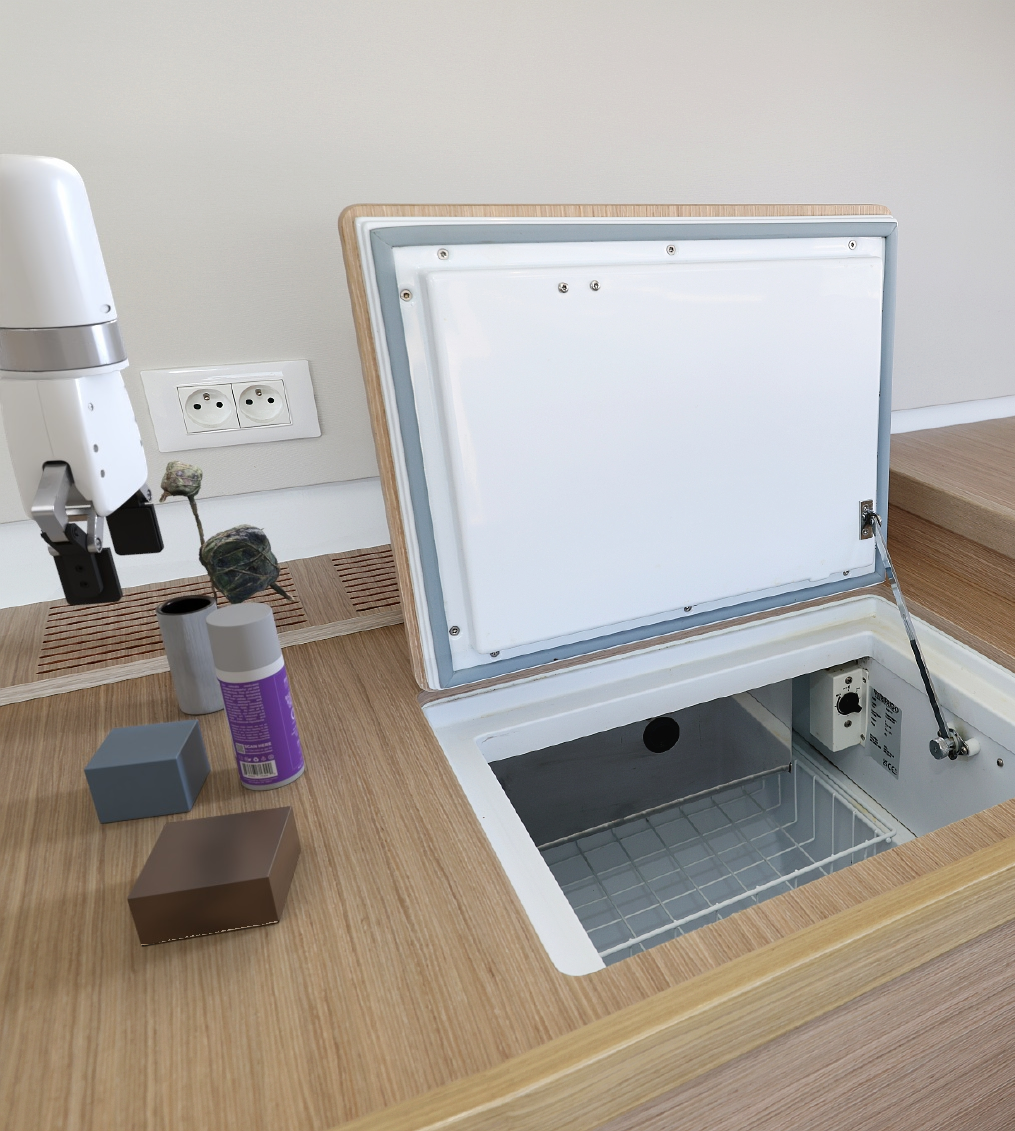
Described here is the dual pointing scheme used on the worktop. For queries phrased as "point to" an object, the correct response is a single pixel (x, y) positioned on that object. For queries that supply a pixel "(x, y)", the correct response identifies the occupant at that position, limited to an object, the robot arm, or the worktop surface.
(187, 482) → the plant with pod
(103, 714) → the worktop surface
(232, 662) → the container
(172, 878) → the base block
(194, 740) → the top block
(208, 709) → the planter
